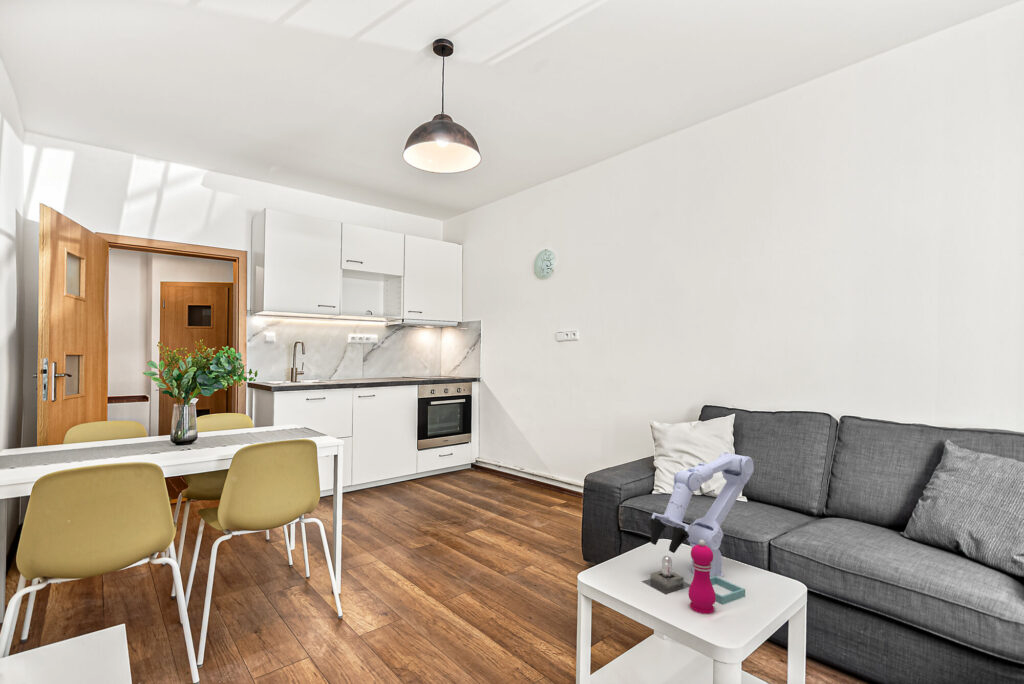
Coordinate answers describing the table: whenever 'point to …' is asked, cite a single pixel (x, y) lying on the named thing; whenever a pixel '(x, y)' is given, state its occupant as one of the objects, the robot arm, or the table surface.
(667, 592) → the hitch plate
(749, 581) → the table surface
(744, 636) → the table surface
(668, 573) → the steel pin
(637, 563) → the table surface
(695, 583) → the pepper mill
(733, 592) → the tray
